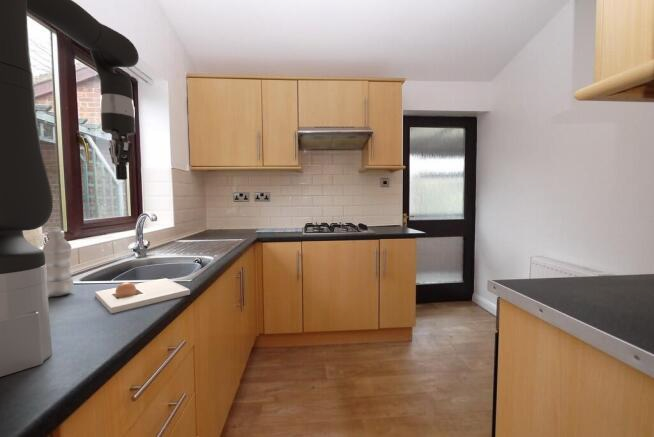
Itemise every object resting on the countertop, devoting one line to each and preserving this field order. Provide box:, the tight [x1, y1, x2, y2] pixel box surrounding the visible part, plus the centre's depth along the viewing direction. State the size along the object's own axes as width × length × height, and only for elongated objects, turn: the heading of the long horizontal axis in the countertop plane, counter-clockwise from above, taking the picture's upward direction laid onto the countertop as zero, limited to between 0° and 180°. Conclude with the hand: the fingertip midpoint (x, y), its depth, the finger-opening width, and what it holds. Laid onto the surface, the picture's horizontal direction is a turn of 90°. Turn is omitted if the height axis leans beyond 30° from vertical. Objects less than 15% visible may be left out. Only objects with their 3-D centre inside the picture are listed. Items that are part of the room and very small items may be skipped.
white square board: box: [94, 277, 191, 314], centre depth 90 cm, size 20×20×2 cm
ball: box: [115, 281, 136, 299], centre depth 86 cm, size 5×5×5 cm
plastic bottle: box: [41, 230, 75, 297], centre depth 90 cm, size 6×7×20 cm
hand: (121, 179), depth 80 cm, fingers closed
